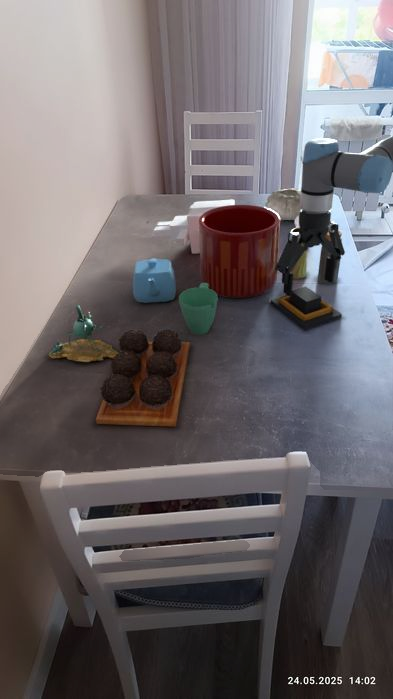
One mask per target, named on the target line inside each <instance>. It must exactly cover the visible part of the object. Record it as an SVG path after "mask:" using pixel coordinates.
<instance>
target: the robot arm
mask: <svg viewBox="0 0 393 699" xmlns="http://www.w3.org/2000/svg"><path fill="white" fill-rule="evenodd" d="M339 146H340V145H339V142H338V141H337V140H336V139H333V138H315V139H311V140H308V141H307V142H306V143H305V144H304V149H303V150H304V151H303V158H302V160H301V161H302V162H301V164H302V169H301V170H302V173H301V187H300V191H301V197H300V208H301V209H300V211H299V226H300V230H299V232H298V233H292V232H291V231H289V232H288V234H287V238H286V243H285V245H284V247H283V249H282V252H281V253H280V257H278V263H277V265H276V270H277V272H279V273H280V274H281V283H282V284H283V289H282V290H283V291H282V292H283V293H284V294H285V295H288V296H292V290H293V282H294V278H293V273H292V272H291V271H292V269H293V268H294V266H295V265H296V263H297V262H298V260H299V259H300V257H301V256H302V254H303V253H304V252H305V251H307V252H308V251H309V249H311V248H313V247H318V246H321V247H322V246H323V248H324V249H325V250H326V251H327V253H328V254H329V255H330V256H331V257H327V260H326V269H325V278H324V279H325V280H326V281H328V282H330V283H333V279H334V271H335V269H336V267H337V260H340V261H341V259H342V256H344V255H345V254H346V251H345V248H344V245H343V241H342V242H341V239H342V238H341V239H340V236H339V232H338V231H339V224H338V223H336V222H334V221H331V218H332V210H331V209H333V208H332V207H333V201H334V200H333V199H334V190H335V188H337V189H338V188H339V189H343V190H350V191H355V192H361V193H365V194H381V193H384V192H385V190H386V189H387V187H388V186H389V184H390V182H391V178H392V177H393V176H392V175H393V135H391V136H389V137H387V138H384V139H382V140H380V141H378V142H377V143H375V144H374V145H372V146H371V147H369V148H367V149H366V150H363V151H362V152H360V153H355V152H346V151H340V148H339ZM328 231H329V235H330V238H331V241H332V244H333V247H334V248H333V247H332V245H331V244H330V243H329V240H328V239H327V238H326V234H327V233H328ZM298 239H299V240H298ZM302 243H303V245H304V246H302V245H301V244H302ZM333 284H334V283H333Z"/></svg>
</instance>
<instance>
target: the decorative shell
mask: <svg viewBox="0 0 393 699" xmlns="http://www.w3.org/2000/svg"><path fill="white" fill-rule="evenodd" d="M300 197H301V190H299V189H297V188H290V187H289V188H287V189H286V188H284V189H278V190H275V191H272V192H271V194H269V195H268V196H267V199H266V200H265V203H264V208H267V209H270V210H272V211H274V212H275V213H277V214H278V215H279V217H280V221H283V220H289V221H295V218H296V217H297V216H298V215H299V211H300V209H301V208H300Z"/></svg>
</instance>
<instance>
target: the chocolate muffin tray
mask: <svg viewBox="0 0 393 699" xmlns="http://www.w3.org/2000/svg"><path fill="white" fill-rule="evenodd" d="M118 341H119V343H117V345H119V346H118V347H119V353H118V354H116V356H114V358H112V360H111V362H110V373H111V376H109V377H108V378H107V377H106V378H105V380H104V381H103V384H102V386H101V387H100V391H101V392H100V394H101V400H102V401H101V403H100V407H99V409H98V413H97V415H96V418H95V423H96V425H117V426H118V425H119V426H121V425H122V426H146V427H147V426H148V427H150V426H151V427H175V428H176V426H177V421H178V416H179V410H180V405H181V399H182V392H183V387H184V383H185V382H184V381H185V376H186V369H187V365H188V364H187V363H188V358H189V353H190V352H189V351H190V346H191V344H190V341H188V342H187V341H186V342H185V341H182V340H181V338H180V336H179V334H178V333H177V332H175V331H174V330H172V329H168V328H166V329H163V330H160V331H157V332H156V333H155V334H154V335H153V339H152V341H149V339H148V337H147V335H146V334H145V333H144V332H143V331H141V330H139V329H134V328H131V329H129V330H127V331H124V333H122V334H121V336H120V338H119V339H118Z"/></svg>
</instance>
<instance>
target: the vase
mask: <svg viewBox="0 0 393 699" xmlns="http://www.w3.org/2000/svg"><path fill="white" fill-rule="evenodd" d="M299 230H300V228H296V227H294V228H292V229H291V230H290V232H292V233H298V232H299ZM298 240H299V239H298ZM301 245H302V246H304V245H303V243H302V244H301ZM307 261H308V250H307V251H305V252H304V253H303V254H302V256H301V257H300V259H299V260H298V262H297V263H296V265H295V266H294V268H293V269H292V271H291V272H292V273H293V280H298V279H299V280H300V279H304V278H305V277H306V276H307V263H308V262H307Z"/></svg>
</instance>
